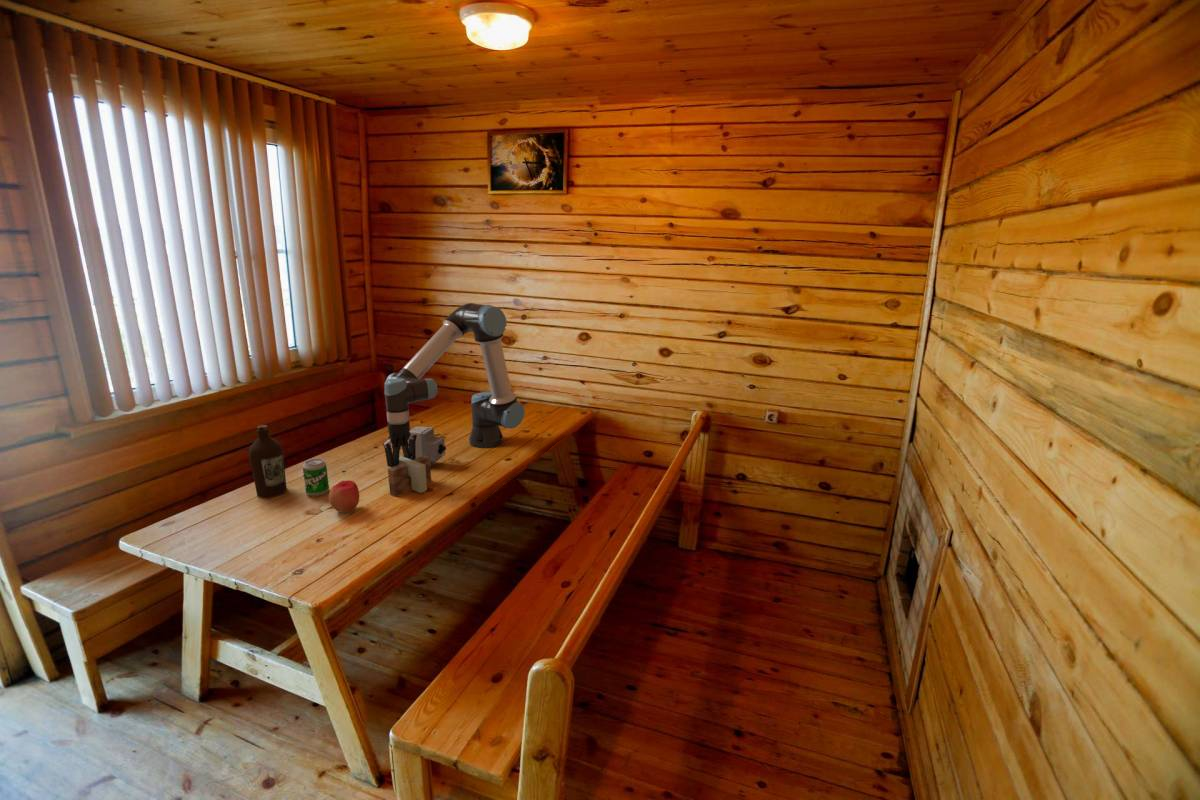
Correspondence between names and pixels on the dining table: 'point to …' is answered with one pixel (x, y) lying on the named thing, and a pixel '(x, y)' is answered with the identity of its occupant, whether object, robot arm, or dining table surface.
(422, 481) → the grey panel
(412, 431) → the circuit breaker
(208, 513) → the dining table surface
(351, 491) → the apple
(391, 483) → the brown notched flat block
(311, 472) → the soda can
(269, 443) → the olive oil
